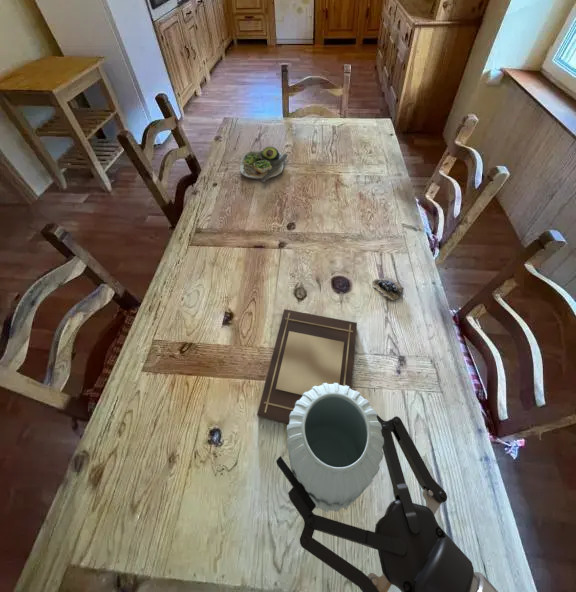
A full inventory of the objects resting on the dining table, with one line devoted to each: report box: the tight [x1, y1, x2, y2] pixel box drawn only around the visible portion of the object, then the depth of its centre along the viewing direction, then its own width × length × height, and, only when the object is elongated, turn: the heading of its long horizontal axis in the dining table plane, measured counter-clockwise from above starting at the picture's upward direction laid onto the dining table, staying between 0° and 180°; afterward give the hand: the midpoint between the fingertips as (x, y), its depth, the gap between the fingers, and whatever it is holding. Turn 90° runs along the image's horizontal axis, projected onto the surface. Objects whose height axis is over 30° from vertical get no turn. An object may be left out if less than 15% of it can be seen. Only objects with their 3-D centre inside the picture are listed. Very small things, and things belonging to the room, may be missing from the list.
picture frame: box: [256, 308, 358, 425], centre depth 76 cm, size 24×18×2 cm
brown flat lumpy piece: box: [372, 277, 405, 301], centre depth 89 cm, size 7×8×2 cm
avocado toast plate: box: [239, 146, 288, 183], centre depth 128 cm, size 19×18×5 cm
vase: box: [286, 383, 384, 513], centre depth 47 cm, size 12×12×22 cm
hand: (311, 424), depth 48 cm, fingers closed on vase, 11 cm apart
